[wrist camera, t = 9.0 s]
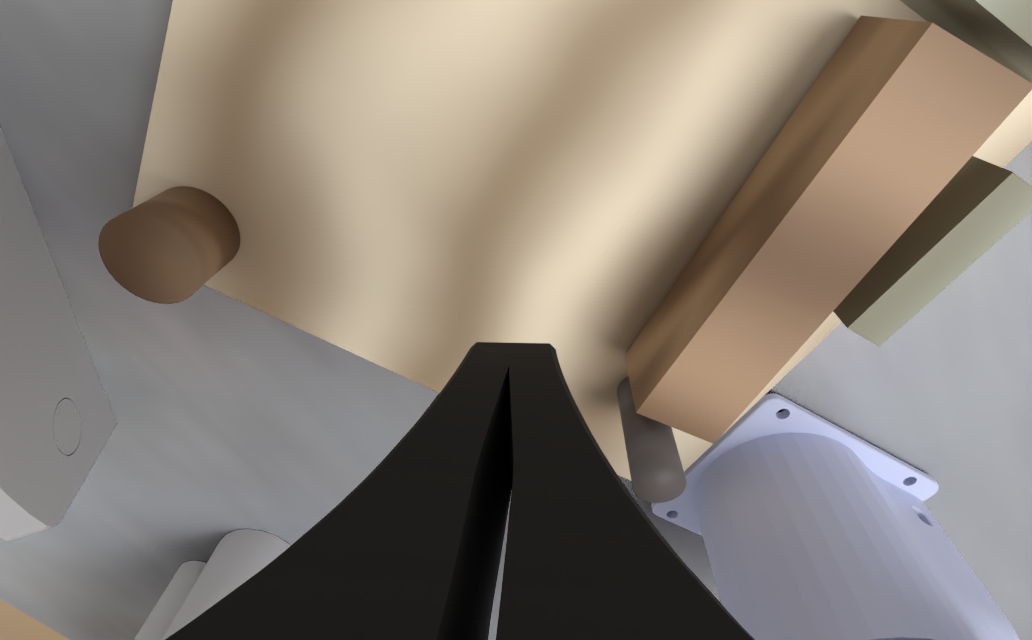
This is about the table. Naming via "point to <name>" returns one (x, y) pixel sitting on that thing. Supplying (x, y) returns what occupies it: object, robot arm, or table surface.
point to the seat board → (514, 175)
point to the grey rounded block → (40, 376)
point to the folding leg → (817, 216)
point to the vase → (210, 580)
